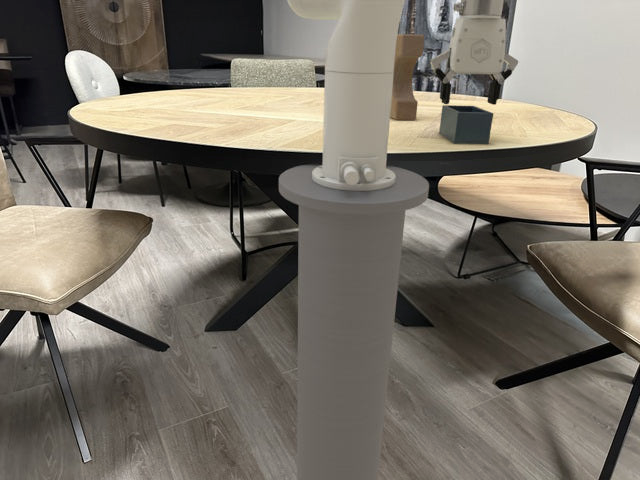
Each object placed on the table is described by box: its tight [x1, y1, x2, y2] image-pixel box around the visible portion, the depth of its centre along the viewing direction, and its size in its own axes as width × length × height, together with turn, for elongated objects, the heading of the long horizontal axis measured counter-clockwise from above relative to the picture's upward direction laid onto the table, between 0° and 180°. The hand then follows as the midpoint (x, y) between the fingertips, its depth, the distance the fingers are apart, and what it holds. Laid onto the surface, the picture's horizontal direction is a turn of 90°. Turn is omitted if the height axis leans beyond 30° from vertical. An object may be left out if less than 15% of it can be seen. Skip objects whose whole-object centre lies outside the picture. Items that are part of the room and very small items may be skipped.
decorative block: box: [390, 33, 426, 121], centre depth 120 cm, size 11×6×20 cm, turn 8°
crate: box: [438, 104, 494, 145], centre depth 97 cm, size 11×7×6 cm, turn 2°
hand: (468, 103), depth 96 cm, fingers open, 9 cm apart
